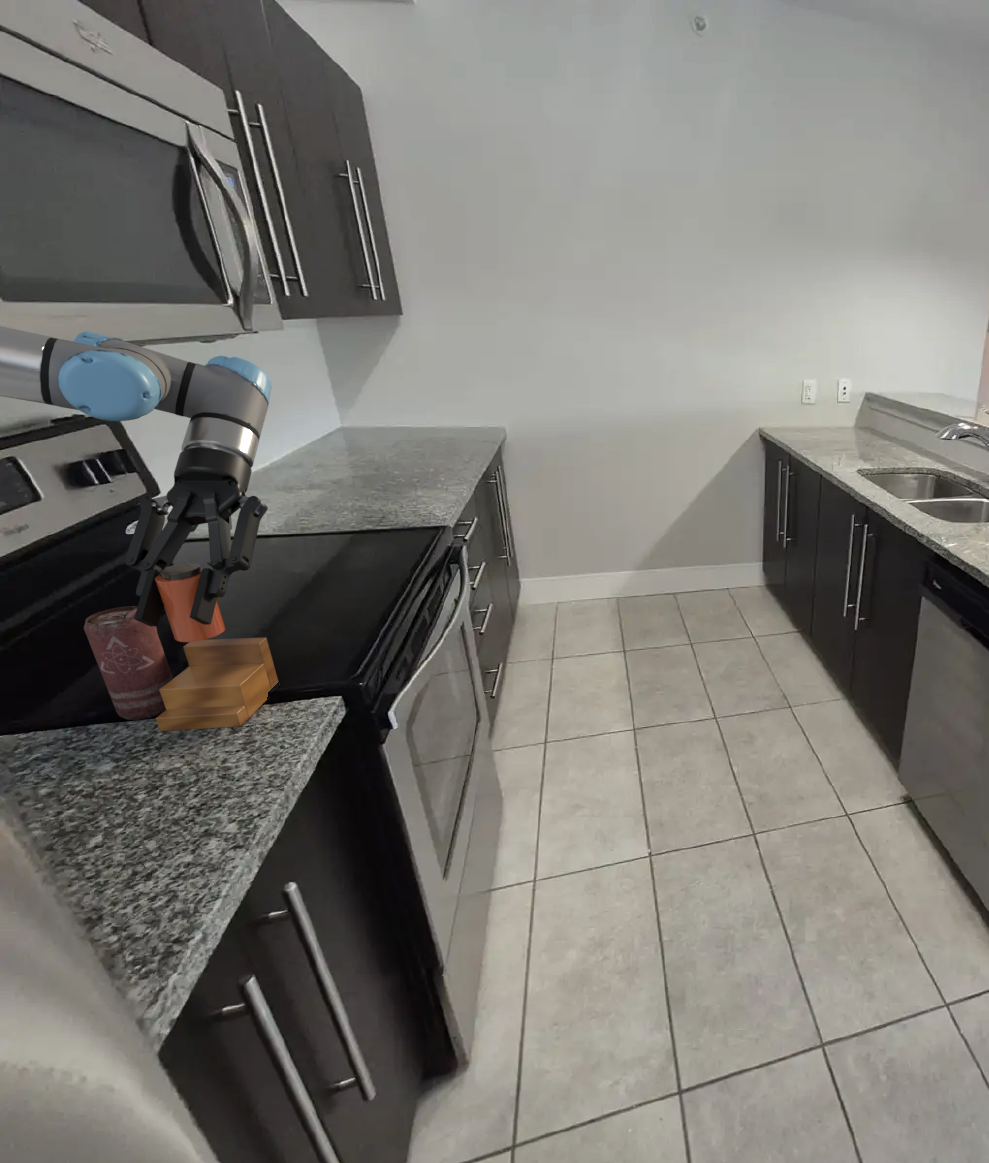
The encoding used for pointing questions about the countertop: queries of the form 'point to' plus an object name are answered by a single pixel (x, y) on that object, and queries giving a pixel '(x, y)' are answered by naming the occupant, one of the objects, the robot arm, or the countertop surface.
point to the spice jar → (185, 603)
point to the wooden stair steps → (218, 684)
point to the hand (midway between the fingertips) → (173, 621)
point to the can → (129, 661)
